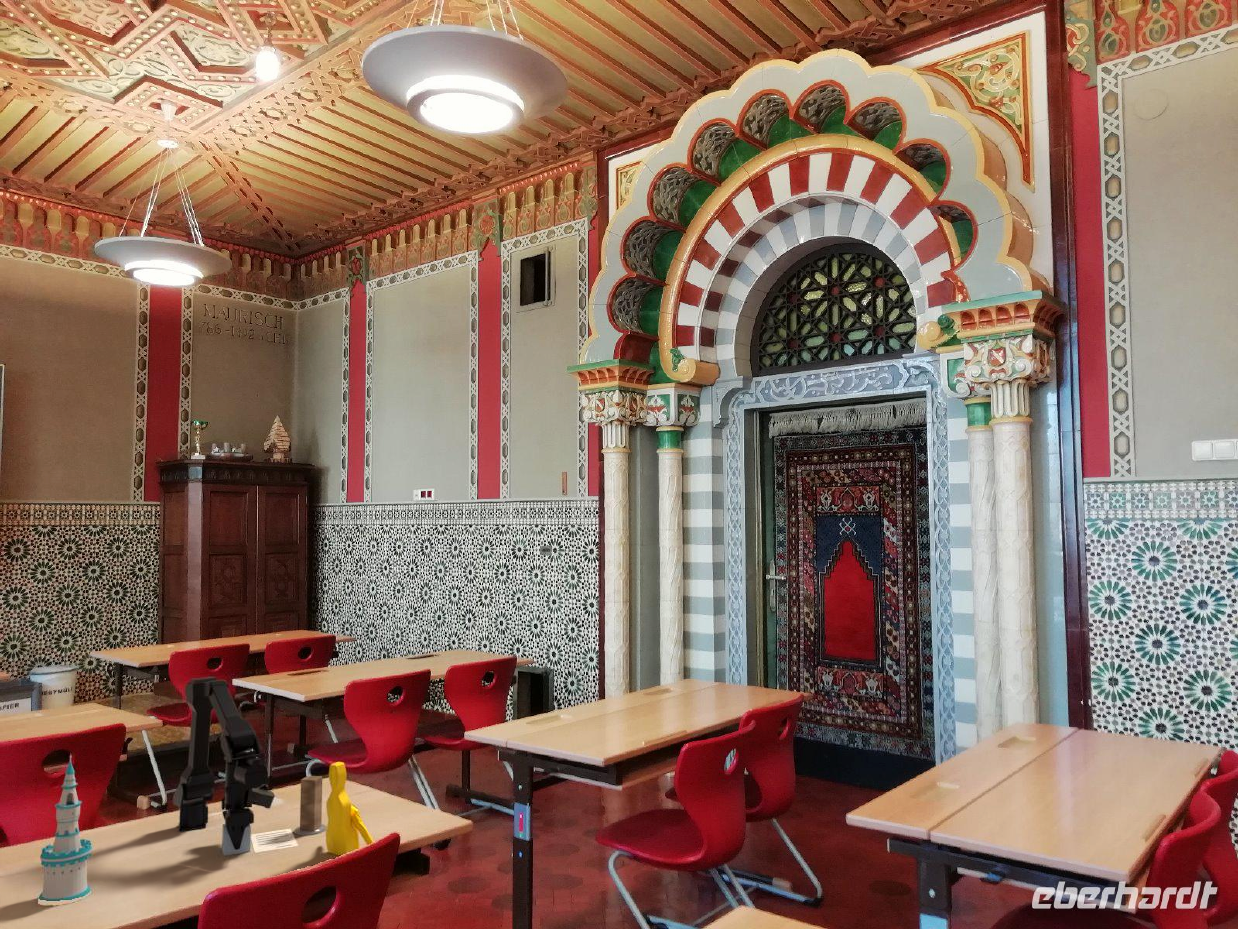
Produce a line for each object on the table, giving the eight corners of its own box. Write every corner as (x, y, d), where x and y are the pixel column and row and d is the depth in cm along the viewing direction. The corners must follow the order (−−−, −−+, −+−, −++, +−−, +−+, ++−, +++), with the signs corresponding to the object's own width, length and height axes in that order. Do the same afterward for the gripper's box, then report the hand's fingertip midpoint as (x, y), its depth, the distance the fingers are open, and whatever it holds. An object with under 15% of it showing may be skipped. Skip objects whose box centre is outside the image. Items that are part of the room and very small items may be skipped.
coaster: (296, 838, 227) (296, 835, 227) (292, 829, 234) (292, 826, 234) (328, 833, 231) (328, 830, 231) (323, 824, 238) (323, 822, 238)
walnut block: (299, 831, 231) (300, 780, 232) (307, 826, 235) (308, 775, 236) (314, 831, 230) (315, 780, 231) (321, 826, 234) (322, 776, 235)
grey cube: (223, 856, 214) (224, 831, 215) (221, 849, 219) (222, 824, 220) (250, 852, 217) (250, 827, 217) (248, 845, 222) (248, 820, 223)
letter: (255, 853, 216) (255, 852, 216) (249, 835, 229) (249, 834, 229) (298, 846, 221) (298, 845, 221) (290, 829, 234) (290, 828, 234)
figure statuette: (380, 856, 214) (381, 762, 215) (353, 866, 207) (355, 769, 209) (333, 842, 224) (334, 753, 225) (306, 851, 217) (308, 759, 219)
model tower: (86, 884, 198) (92, 747, 200) (95, 897, 190) (101, 754, 193) (33, 896, 191) (39, 754, 194) (41, 910, 183) (47, 762, 186)
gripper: (276, 785, 215) (275, 851, 214) (268, 768, 231) (267, 829, 230) (227, 791, 210) (225, 859, 209) (222, 773, 226) (220, 836, 225)
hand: (236, 845), depth 218 cm, fingers closed on grey cube, 6 cm apart
